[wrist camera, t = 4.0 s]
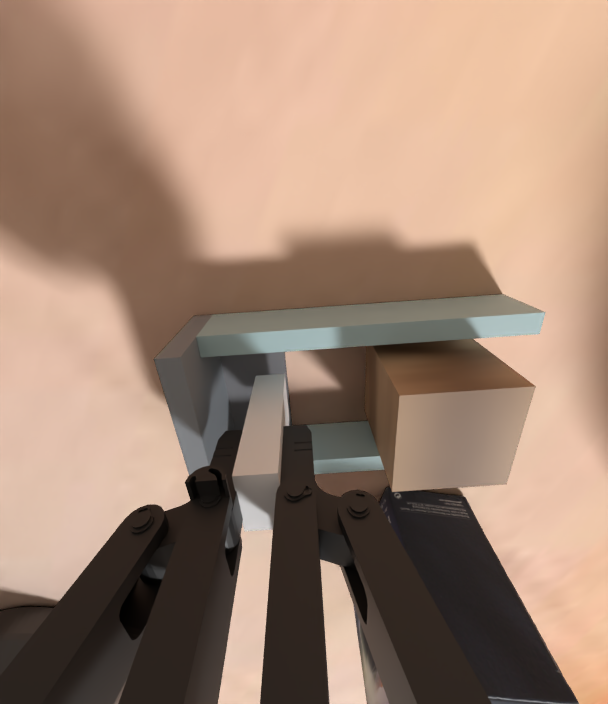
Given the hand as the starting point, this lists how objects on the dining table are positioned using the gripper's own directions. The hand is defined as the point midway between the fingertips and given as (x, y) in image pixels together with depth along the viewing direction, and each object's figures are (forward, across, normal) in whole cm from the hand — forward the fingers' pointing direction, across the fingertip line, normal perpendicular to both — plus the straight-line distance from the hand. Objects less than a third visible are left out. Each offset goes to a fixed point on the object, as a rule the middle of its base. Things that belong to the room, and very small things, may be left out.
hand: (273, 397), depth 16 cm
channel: (+2, +5, 0) cm, 5 cm away
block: (+2, +8, 0) cm, 8 cm away
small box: (+2, +8, -15) cm, 17 cm away
